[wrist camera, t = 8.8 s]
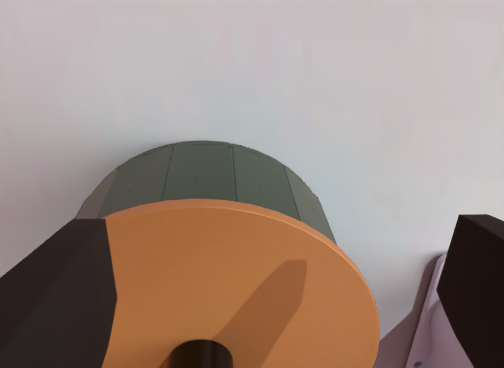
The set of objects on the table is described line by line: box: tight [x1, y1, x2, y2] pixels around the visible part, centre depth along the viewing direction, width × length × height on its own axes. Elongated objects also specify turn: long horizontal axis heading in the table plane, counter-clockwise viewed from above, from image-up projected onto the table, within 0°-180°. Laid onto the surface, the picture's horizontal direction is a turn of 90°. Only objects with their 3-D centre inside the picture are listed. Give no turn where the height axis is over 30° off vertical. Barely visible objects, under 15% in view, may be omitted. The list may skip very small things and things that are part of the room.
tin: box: [76, 141, 337, 245], centre depth 19 cm, size 12×12×6 cm
